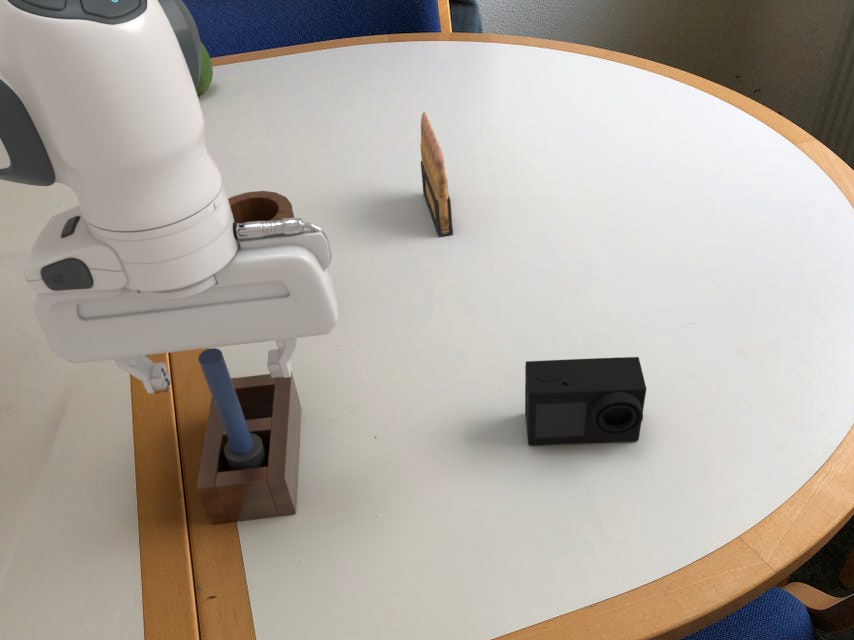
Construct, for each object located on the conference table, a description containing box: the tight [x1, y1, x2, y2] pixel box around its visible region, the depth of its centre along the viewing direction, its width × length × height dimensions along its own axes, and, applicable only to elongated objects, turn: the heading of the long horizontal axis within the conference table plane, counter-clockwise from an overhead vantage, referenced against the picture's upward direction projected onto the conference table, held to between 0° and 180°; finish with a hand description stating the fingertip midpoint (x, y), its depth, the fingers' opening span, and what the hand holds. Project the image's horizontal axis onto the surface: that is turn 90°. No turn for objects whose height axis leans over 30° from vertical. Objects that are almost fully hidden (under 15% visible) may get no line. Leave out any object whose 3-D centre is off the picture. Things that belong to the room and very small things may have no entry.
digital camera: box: [524, 356, 647, 446], centre depth 72 cm, size 10×5×7 cm, turn 91°
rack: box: [195, 371, 302, 525], centre depth 72 cm, size 7×13×5 cm, turn 7°
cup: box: [228, 190, 295, 223], centre depth 87 cm, size 8×8×12 cm
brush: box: [197, 347, 268, 471], centre depth 66 cm, size 3×3×16 cm
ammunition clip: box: [420, 111, 454, 238], centre depth 99 cm, size 11×2×12 cm, turn 13°
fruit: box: [196, 40, 214, 95], centre depth 128 cm, size 8×8×12 cm
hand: (221, 380), depth 62 cm, fingers open, 8 cm apart
